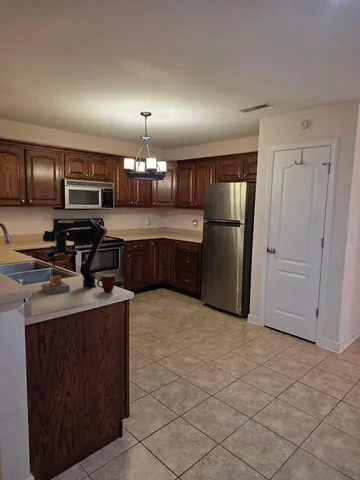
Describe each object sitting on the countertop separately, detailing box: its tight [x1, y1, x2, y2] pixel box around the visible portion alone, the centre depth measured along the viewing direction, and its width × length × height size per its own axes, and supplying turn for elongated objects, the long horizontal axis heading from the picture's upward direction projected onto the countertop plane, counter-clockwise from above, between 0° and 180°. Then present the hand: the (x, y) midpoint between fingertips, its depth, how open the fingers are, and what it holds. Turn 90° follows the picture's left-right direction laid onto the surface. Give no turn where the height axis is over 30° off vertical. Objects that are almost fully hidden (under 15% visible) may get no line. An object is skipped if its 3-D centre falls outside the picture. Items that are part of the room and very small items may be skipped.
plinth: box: [41, 280, 71, 295], centre depth 186 cm, size 12×12×4 cm
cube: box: [49, 274, 62, 286], centre depth 186 cm, size 5×5×5 cm
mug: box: [96, 273, 116, 293], centre depth 187 cm, size 11×8×10 cm
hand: (61, 267), depth 196 cm, fingers open, 9 cm apart
